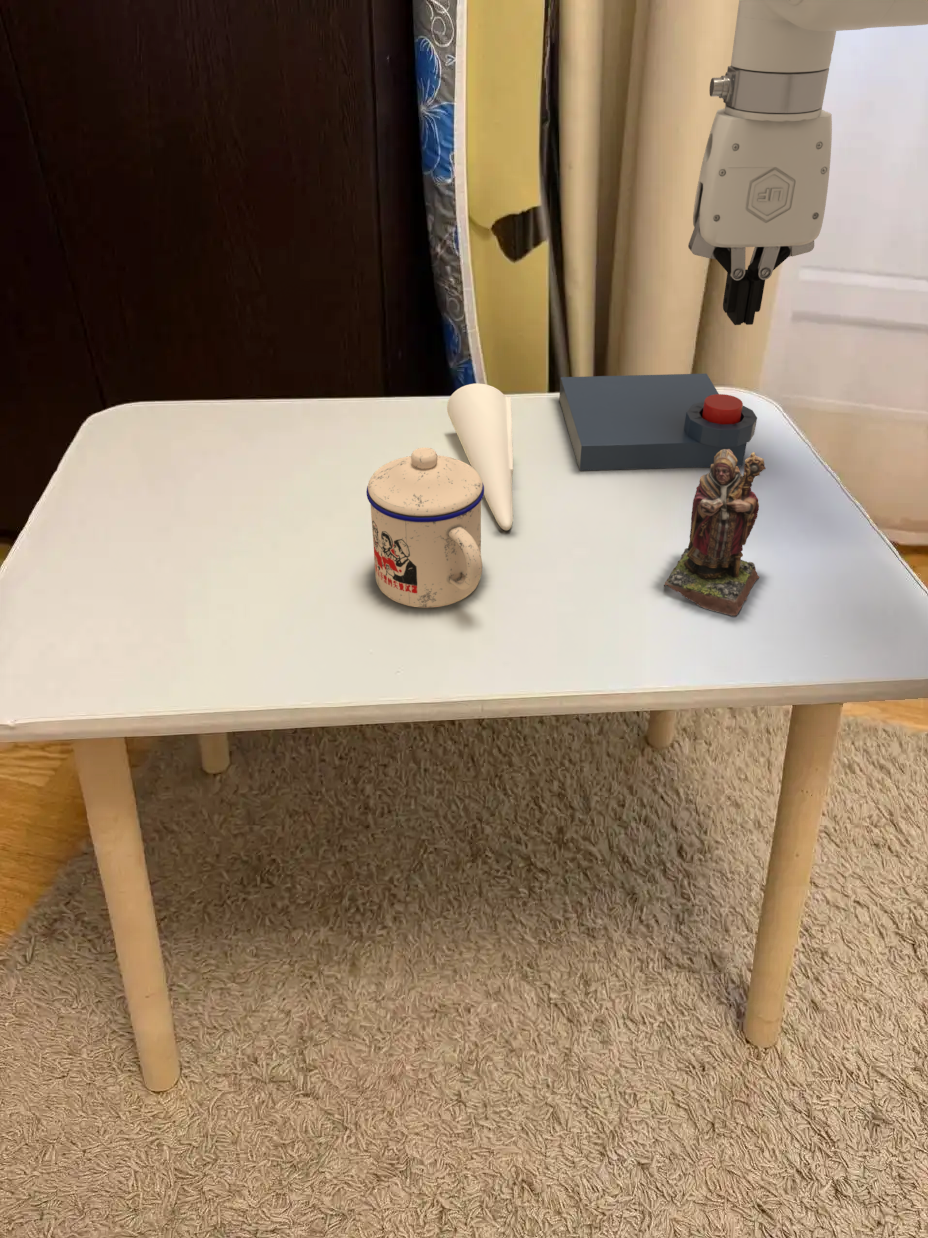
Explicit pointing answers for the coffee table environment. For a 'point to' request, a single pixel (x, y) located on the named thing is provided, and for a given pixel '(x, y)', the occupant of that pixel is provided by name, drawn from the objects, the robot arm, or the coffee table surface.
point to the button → (722, 409)
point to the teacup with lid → (426, 529)
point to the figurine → (720, 537)
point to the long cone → (487, 442)
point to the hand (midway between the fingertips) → (739, 319)
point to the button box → (647, 422)
